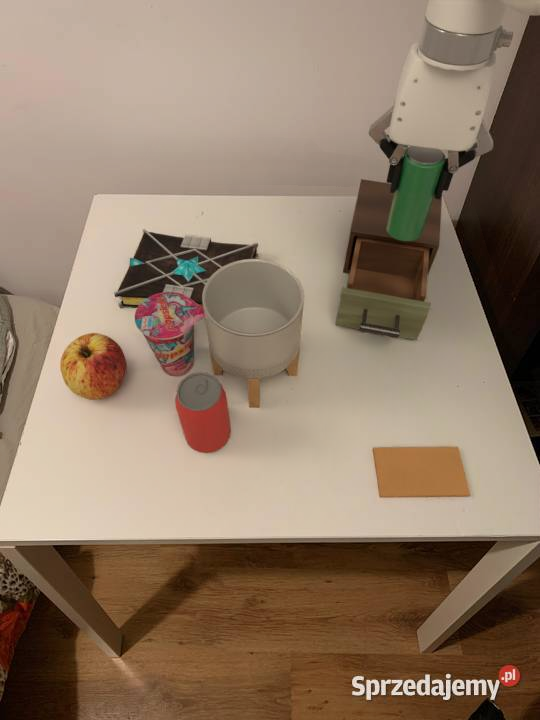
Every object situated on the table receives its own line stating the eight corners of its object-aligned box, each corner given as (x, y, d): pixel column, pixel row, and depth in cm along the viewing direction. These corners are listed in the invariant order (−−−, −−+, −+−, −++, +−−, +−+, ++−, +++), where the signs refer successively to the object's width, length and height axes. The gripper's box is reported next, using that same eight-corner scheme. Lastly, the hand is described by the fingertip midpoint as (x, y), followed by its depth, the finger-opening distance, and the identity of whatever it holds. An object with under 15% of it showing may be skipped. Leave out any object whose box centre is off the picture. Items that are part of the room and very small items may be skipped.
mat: (456, 448, 70) (458, 446, 69) (469, 496, 66) (470, 495, 65) (372, 449, 69) (373, 447, 69) (379, 497, 65) (380, 496, 65)
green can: (423, 220, 72) (447, 144, 63) (421, 244, 69) (446, 168, 60) (387, 215, 73) (406, 139, 63) (384, 238, 70) (402, 162, 60)
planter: (210, 407, 73) (197, 334, 58) (217, 338, 80) (206, 258, 66) (297, 408, 73) (305, 335, 58) (295, 339, 80) (302, 259, 66)
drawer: (415, 360, 77) (429, 330, 71) (331, 344, 79) (337, 313, 72) (421, 281, 87) (434, 247, 80) (346, 268, 89) (353, 234, 82)
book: (258, 256, 91) (258, 235, 87) (240, 326, 82) (239, 306, 78) (146, 242, 93) (141, 221, 89) (116, 308, 84) (108, 288, 80)
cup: (164, 394, 74) (148, 347, 64) (142, 355, 78) (125, 305, 68) (218, 368, 77) (212, 320, 67) (195, 332, 81) (185, 281, 71)
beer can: (236, 419, 72) (232, 375, 62) (222, 460, 68) (215, 419, 58) (194, 408, 73) (183, 363, 63) (178, 448, 69) (164, 406, 59)
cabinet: (423, 286, 87) (439, 245, 80) (342, 272, 89) (350, 231, 81) (427, 233, 96) (442, 191, 88) (353, 221, 97) (361, 179, 89)
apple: (122, 415, 72) (103, 379, 64) (63, 407, 73) (38, 370, 65) (140, 365, 77) (126, 325, 69) (86, 358, 78) (65, 317, 70)
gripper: (540, 32, 52) (480, 182, 67) (378, 17, 54) (355, 165, 69) (546, 64, 48) (481, 217, 62) (371, 47, 50) (348, 197, 65)
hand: (415, 188), depth 66 cm, fingers closed on green can, 5 cm apart
